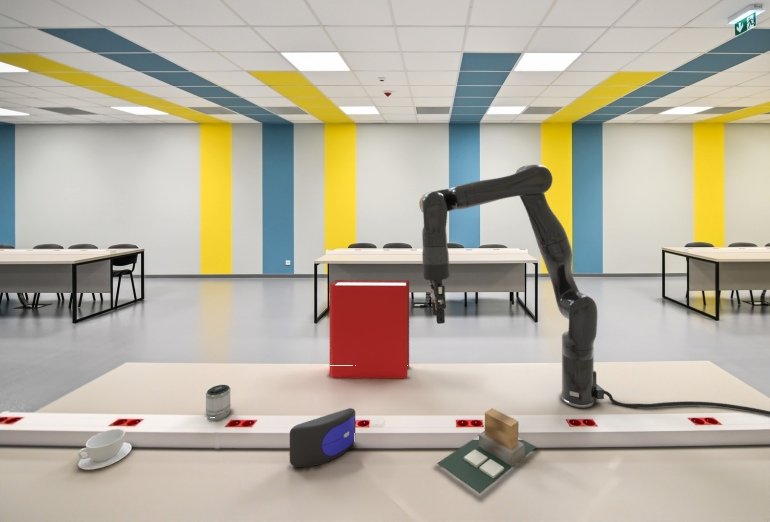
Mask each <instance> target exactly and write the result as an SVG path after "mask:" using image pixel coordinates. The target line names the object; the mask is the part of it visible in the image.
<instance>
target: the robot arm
mask: <svg viewBox="0 0 770 522" xmlns="http://www.w3.org/2000/svg"><path fill="white" fill-rule="evenodd" d="M552 184H553V175H552V172H551V170H549V168H547V167H546V166H545V165H542V164H530V165H529V164H527V165H523V166H521V167H519V168H517V170H516V171H515V173H513V174H509V175H506V176H501V177H497V178H496V177H495V178H490V179H483V180H477V181H471V182H468V183H467V182H466V183H463V184H459V185H456V186H453V187H450V188H445V189H438V190H434V191H428V192H426V193H424V194H422V195H421V197H420V199H419V202H418V203H419V209H420V211H421V212H422V215H423V216H422V217H423V218H422V219H423V226H422V227H423V228H422V230H421V236H422V237H421V238H422V240H421V241H422V252H421V253H422V254H421V255H422V256H421V257H422V258H421V259H422V274H423V276H422V277H423V279H424V280H425V281H429V294H430V295H429V296H430V300H431V302H432V303H431V305H432V315H433V316H435V317H436V324H438V325H440V324H445V323H446V318H445V317H446V316H445V315H446V314H445V310H446V309H447V305H446V303H447V302H446V286H445V285H444V283H443V280H447V279H449V278H450V277H451V275H450V255H449V254H450V253H449V248H448V235H447V223H448V212H452V211H455V210H456V211H457V210H465V209H470V208H473V207H477V206H478V207H479V206H481V205H485V204H489V203H492V202H496V201H499V200H504V199H508V198H514V197H519V198H520V200H521V202H522V204H523V206H524V209H525V212H526V214H527V216H528V221H529V222H530V225H531V229H532V232H533V234H534V237H535V240H536V244H537V246H538V249H539V253H540V255H541V258H542V260H543V263H544V266H545V268H546V271H547V274H548V276H549V278H550V281H551V286H552V289H553V293H554V297H555V302H556V306H557V309H558V311H559V313H560V315H562V316H563V317H564V318H565V319H566V320H568V331H564V332H563V333H562V335H561V400H562V401H563V402H564V403H565V404H567V405H569V406H571V407H573V408H578V409H586V408H591V407H592V406H593V405H594V404H597V400H599V401H600V400H605V395H606V396H607V397H608V398H609V401H610V402H611V404H613V405H617V406H620V407H624V408H645V409H647V408H648V409H651V408H660V407H677V406H678V407H679V406H702V407H703V406H707V407H716V408H717V407H718V408H726V409H734V410H741V411H745V412H746V411H747V412H752V413H758V414H762V415H768V416H770V410H765V409H761V408H755V407H750V406H744V405H737V404H730V403H723V402H714V401H713V402H712V401H688V400H687V401H667V402H657V403H656V402H655V403H624V402H620V401H618V400H615V399H614V397H613V396H612V393H610V392H608V391H607V390H605V389H604V388H602V387H601V386H600V385H599V384H597V372H596V370H594V367H595V366H594V364H595V363H594V362H595V361H594V355H595V354H594V349H595V348H594V343H595V340H596V339H597V334H598V333H597V332H598V307H597V303H596V301H595V299H593V298H592V297H591V296H589V295H587V294H585V293H582V292H581V291H580V290H579V288H578V286H577V283H576V280H575V278H574V275H573V269H572V268H573V266H572V265H573V250H572V246H571V242H570V240H569V237H568V234H567V231H566V229H565V228H564V226H563V225H562V222H560V220H559V218H558V217H557V216H556V214H555V213H554V211H553V209H551V206H550V205H549V203H548V200H547V197H546V194H545V193H547V192H548V191H549V190H550V188H551V187H552Z"/></svg>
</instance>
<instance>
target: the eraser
mask: <svg viewBox="0 0 770 522" xmlns="http://www.w3.org/2000/svg"><path fill="white" fill-rule="evenodd" d="M478 436H479V447H481V448H482V449H484V450H486V451H487V452H489V453H491V454H492V455H494V456H496V457H497V458H499V459H501V460H502V461H504V462H506V463H507V464H509V465H511V466H513V465H514V466H515V465H517V464H518V463H519V462H520V461H522V460H523V459H524V458H525V457H524V444H523V443H521V442H519V441H518V437H519V420H517V419H515V418H513V417H512V416H509V415H507V414H505V413H503V412H501V411H499V410H497V409H495V408H493V407H492V408H490V409H488V410H487V411H485V412H484V431H482V432H481V433H479V434H478ZM523 457H524V458H523ZM522 458H523V459H522ZM518 461H519V462H518ZM517 462H518V463H517ZM516 463H517V464H516ZM514 466H513V467H514Z"/></svg>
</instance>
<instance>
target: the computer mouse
mask: <svg viewBox="0 0 770 522" xmlns="http://www.w3.org/2000/svg"><path fill="white" fill-rule="evenodd" d="M354 433H355V434H356V410H355V409H354V408H351V407H350V408H346V409H342V410H339V411H336V412H333V413H329V414H326V415H324V416H323V415H322V416H320V417H317V418H315V419H311V420H308V421H305V422H302V423H299V424H296V425H294V426H293V427H292V428H290V430H289V463H290V465H291V466H293V467H295V468H308V467H309V468H310V467H315V466H318V465H322V464H325V463H328V462H330V461H333V460H335V459H337V458H339V457H340V456H342V455H344V454H345V453H347V452H348V451H349V450H350V449H351V448H352V447H353V446H354V444H355V442H354Z"/></svg>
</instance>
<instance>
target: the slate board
mask: <svg viewBox="0 0 770 522" xmlns="http://www.w3.org/2000/svg"><path fill="white" fill-rule="evenodd" d="M518 441H519V442H521V443H523V444H524V457H523V458H522V459H521V460H523V459H524V458H525V457H526V456H528V455H529V454H530V453H532V451H534V450H535V449H536V448H537V446H536V445H534V444H532V443H530V442H528V441H526V440H524V439H523V440H518ZM473 450H477V451H478V452H480V453H482V454H483V455H485V456H486V457H488V460H490V459H491V460H493V461H494V462H496V463H498V464H499V465H501V466H502V467H504V470H503V471H502V472H501V473H500V474H498V475H497V476H496V477H495V478H492V477H490V476H489V475H487V474H486V473H484V472H482V471H481V470H480V466H482V465H483V464H484V463H486V462H487V461H488V460H486V461H485V462H484V463H482V464H481V465H480V466H478V467H477V468H476V467H475V466H473V465H472V464H470V463H469V462H467V461H466V460H464V457H465V456H466V455H467V454H469V453H470V452H472V451H473ZM519 462H520V461H518V462H517V463H516V464H515V465H517V464H518V463H519ZM436 464H437V465H438V466H440V467H441V468H443V469H444V470H446V471H447V472H448V473H450V475H453V476H454V477H455V478H457V479H458V480H460V481H461V482H463V483H464V484H465V485H467V486H468V487H470V488H471V489H472V490H474V491H475V492H476V493H477V494H479V495H481V494H482V492H484V491H486V489H488V488H489V487H490V486H491V485H492V484H494V483H495V482H496V481H497V480H499V479H500V478H501V477H503V476H504V475H505V474H506V473H507V472H508V471H510V470H511V469H512V468H513V467H514V466H515V465H513V466H511V465H509V464H507V463H506V462H504V461H502V460H501V459H499V458H497V457H496V456H494V455H492V454H491V453H489V452H487V451H486V450H484V449H482V448H481V447H479V440H473V439H471V440H470V441H468V442H466V443H465V444H464V445H462V446H460V447H459V448H458V449H456V450H455V451H453V452H452V453H450V454H449V455H447V456H445V457H444V458H442V459H441V460H440V461H438V462H437V463H436Z"/></svg>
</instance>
